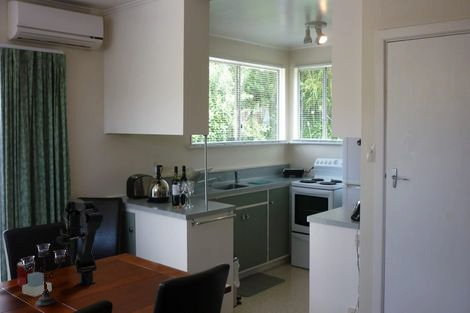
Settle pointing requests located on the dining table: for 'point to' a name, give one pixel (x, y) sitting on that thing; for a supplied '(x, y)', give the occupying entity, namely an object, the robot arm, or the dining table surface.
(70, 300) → the dining table surface
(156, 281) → the dining table surface
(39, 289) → the base box
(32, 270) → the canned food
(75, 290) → the dining table surface
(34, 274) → the block
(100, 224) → the robot arm
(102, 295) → the dining table surface
